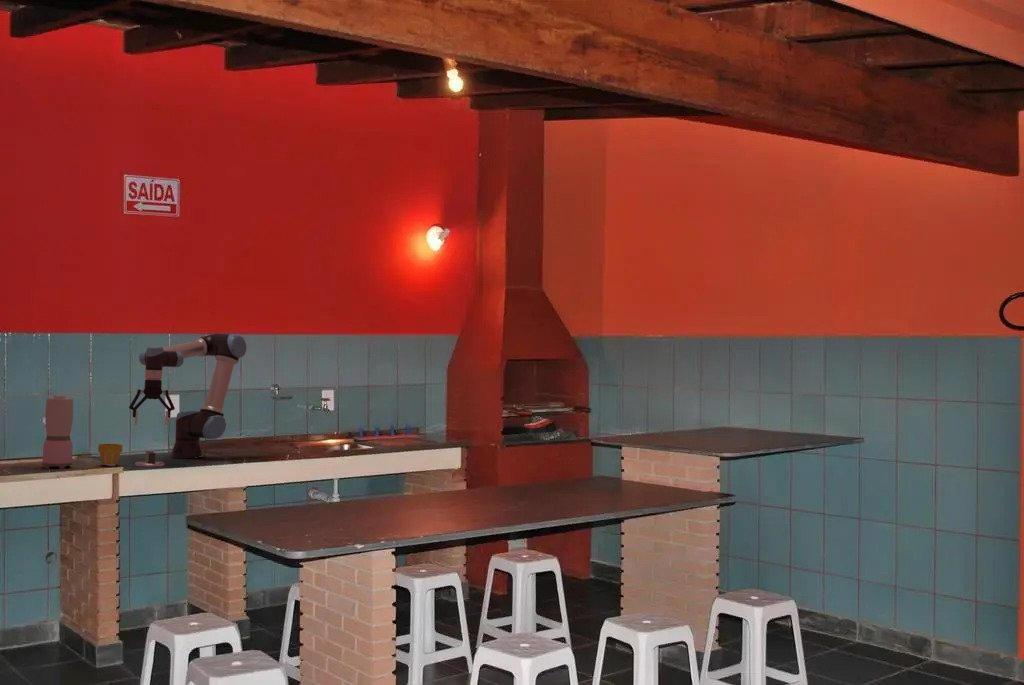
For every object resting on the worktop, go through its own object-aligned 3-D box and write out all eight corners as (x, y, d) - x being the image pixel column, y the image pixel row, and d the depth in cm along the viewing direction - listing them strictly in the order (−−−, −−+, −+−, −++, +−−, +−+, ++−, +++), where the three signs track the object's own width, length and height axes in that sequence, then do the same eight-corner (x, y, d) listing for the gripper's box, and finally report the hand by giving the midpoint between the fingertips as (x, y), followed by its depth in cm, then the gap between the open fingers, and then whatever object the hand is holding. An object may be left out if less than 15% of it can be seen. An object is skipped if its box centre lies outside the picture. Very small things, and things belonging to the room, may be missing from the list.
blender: (68, 469, 475) (71, 396, 475) (38, 468, 473) (41, 395, 473) (76, 465, 490) (79, 395, 491) (48, 464, 488) (51, 394, 489)
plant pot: (125, 465, 499) (126, 444, 499) (115, 467, 488) (116, 445, 488) (104, 464, 500) (104, 442, 500) (93, 466, 489) (94, 444, 489)
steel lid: (162, 463, 513) (162, 450, 513) (166, 466, 501) (167, 453, 501) (133, 464, 507) (134, 450, 507) (137, 467, 495) (137, 453, 495)
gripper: (126, 378, 495) (124, 425, 495) (182, 380, 506) (180, 425, 506) (124, 378, 502) (122, 423, 502) (179, 379, 513) (177, 424, 513)
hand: (151, 424), depth 504 cm, fingers open, 13 cm apart
